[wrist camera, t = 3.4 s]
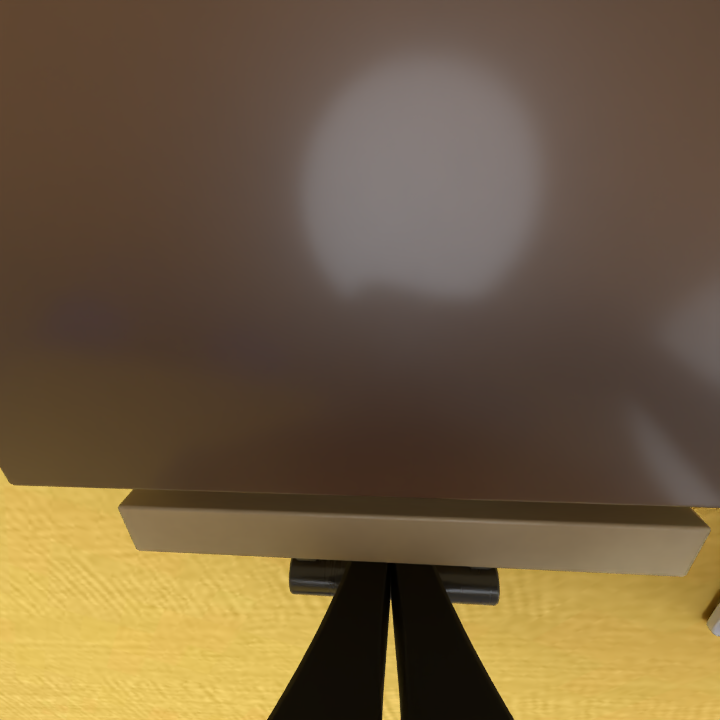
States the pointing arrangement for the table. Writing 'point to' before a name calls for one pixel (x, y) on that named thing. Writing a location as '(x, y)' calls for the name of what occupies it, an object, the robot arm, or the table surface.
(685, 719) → the table surface
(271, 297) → the cabinet
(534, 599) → the table surface
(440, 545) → the drawer
